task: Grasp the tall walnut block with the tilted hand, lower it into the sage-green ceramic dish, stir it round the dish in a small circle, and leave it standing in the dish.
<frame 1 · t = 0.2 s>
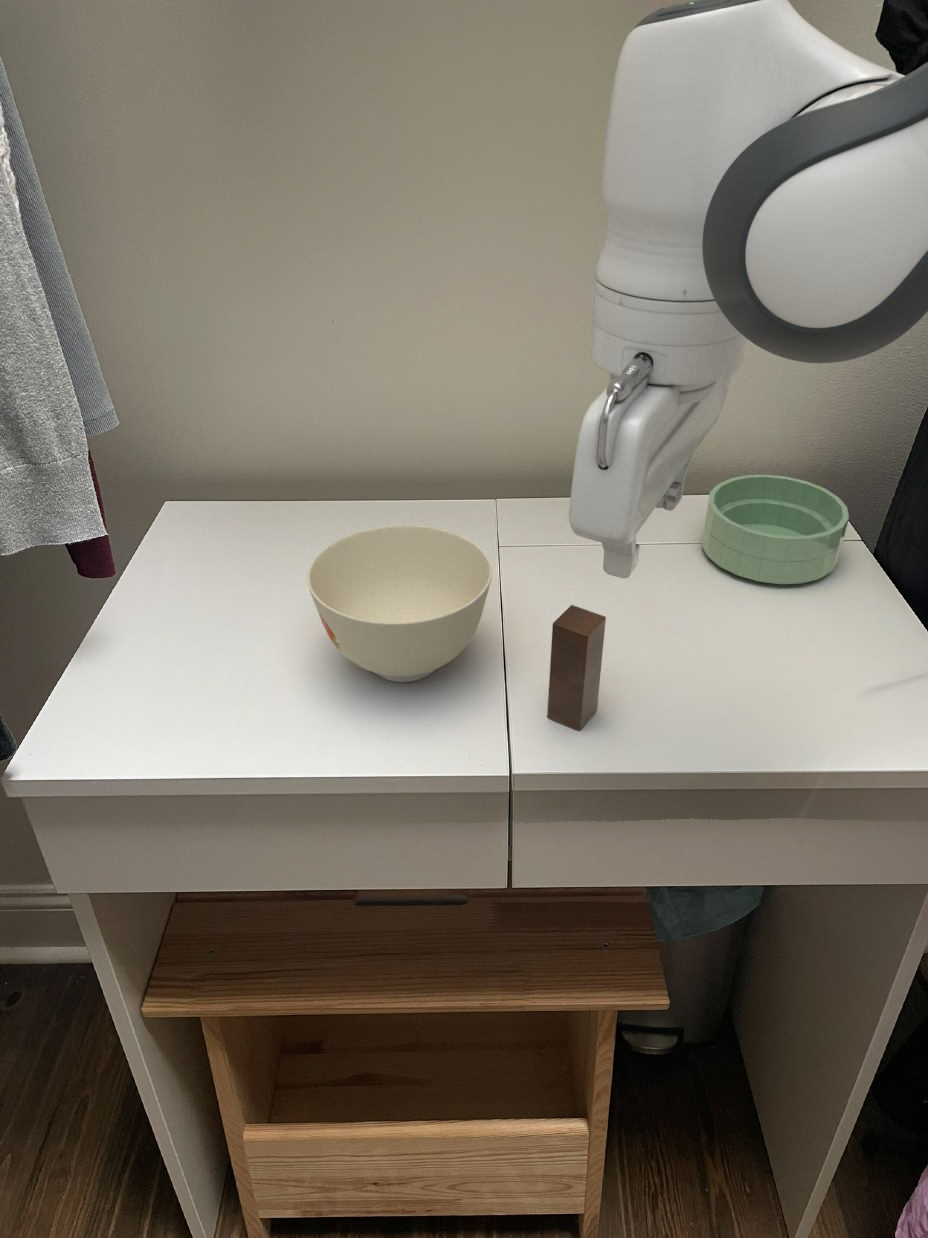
hand: (643, 536, 62), 22 cm above the table, tool pointing down, fingers open, 8 cm apart
dish: (767, 553, 103), on the table
bowl: (404, 663, 88), on the table
block: (572, 714, 82), on the table
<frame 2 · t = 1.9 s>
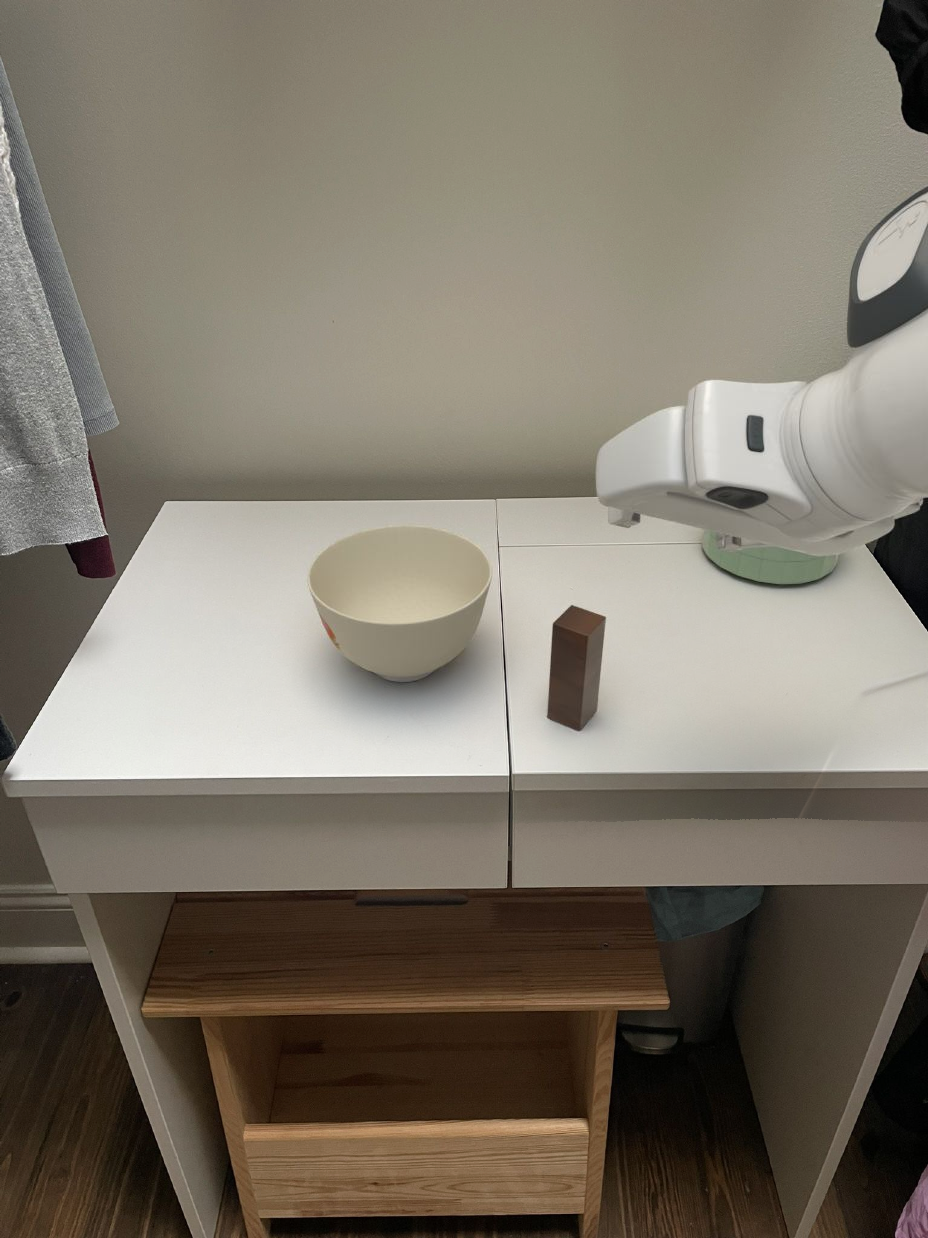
hand: (671, 528, 68), 20 cm above the table, tool tilted 50°, fingers open, 8 cm apart
nothing on the table moved.
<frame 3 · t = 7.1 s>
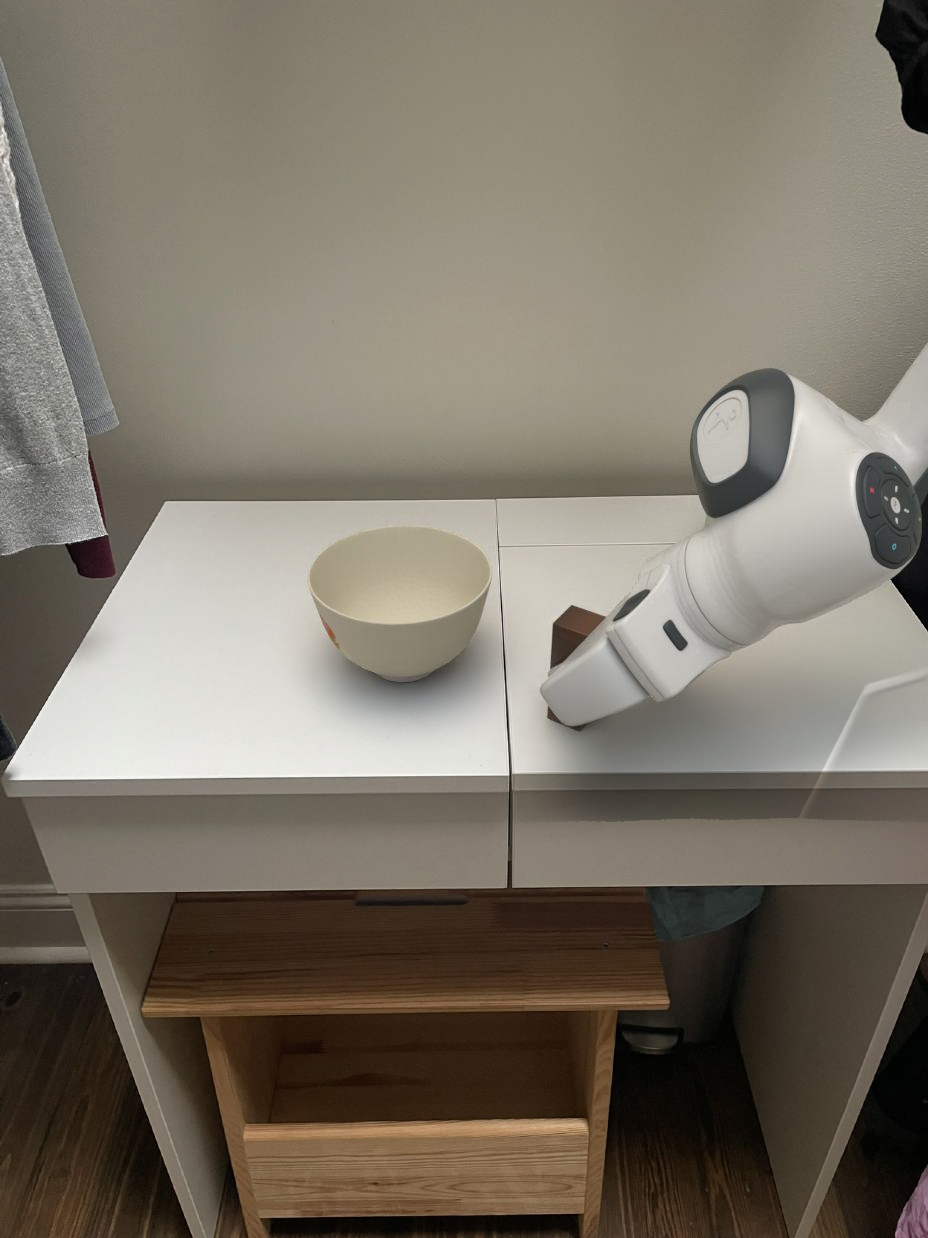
hand: (569, 663, 79), 5 cm above the table, tool tilted 45°, fingers closed on block, 3 cm apart
block: (572, 714, 82), on the table, touching gripper
everything else where it was.
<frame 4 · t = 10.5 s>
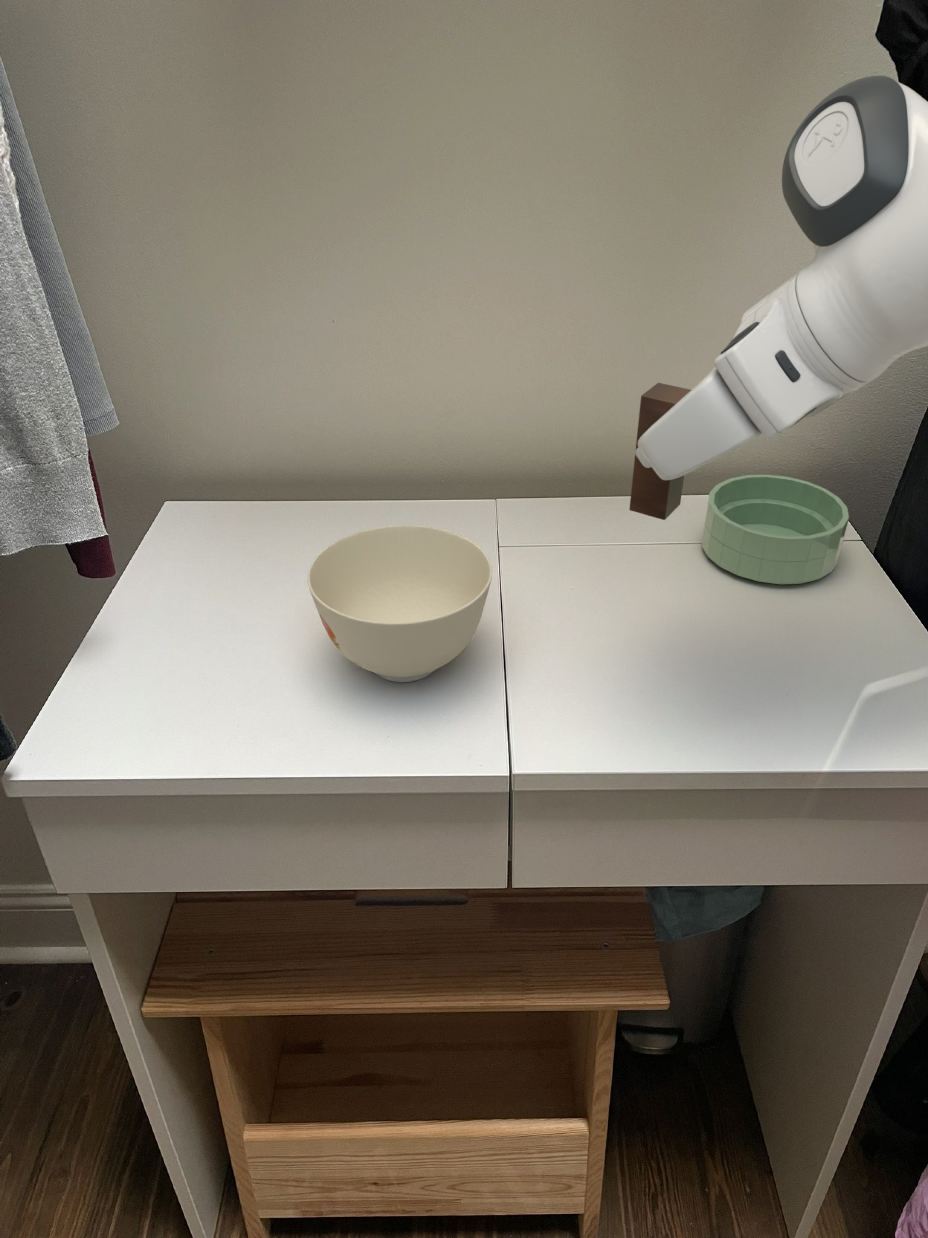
hand: (655, 446, 76), 21 cm above the table, tool tilted 45°, fingers closed on block, 3 cm apart
block: (654, 507, 78), point 16 cm above the table, touching gripper
everything else where it was.
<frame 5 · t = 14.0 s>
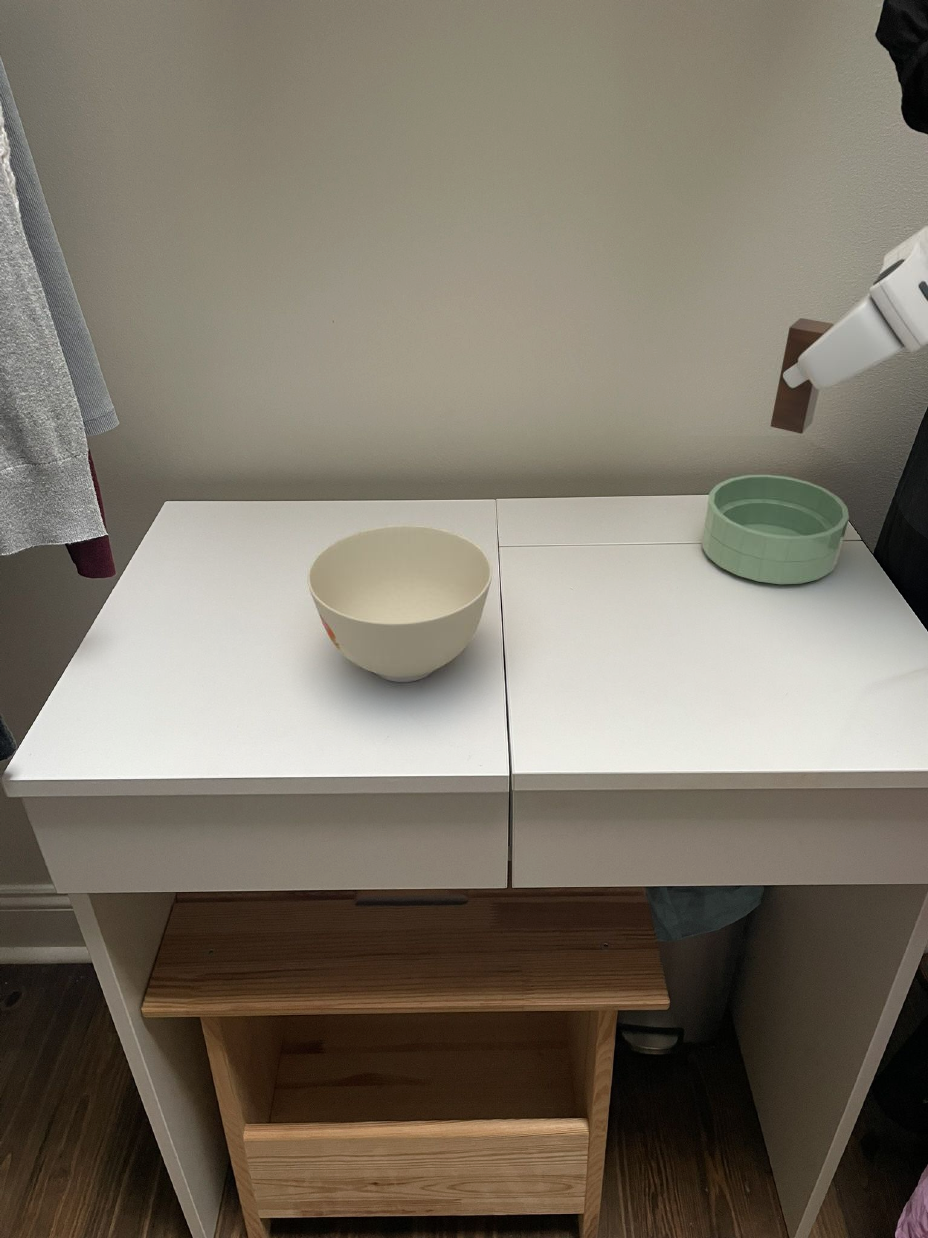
hand: (796, 372, 91), 20 cm above the table, tool tilted 45°, fingers closed on block, 3 cm apart
block: (791, 424, 94), point 15 cm above the table, touching gripper
everything else where it was.
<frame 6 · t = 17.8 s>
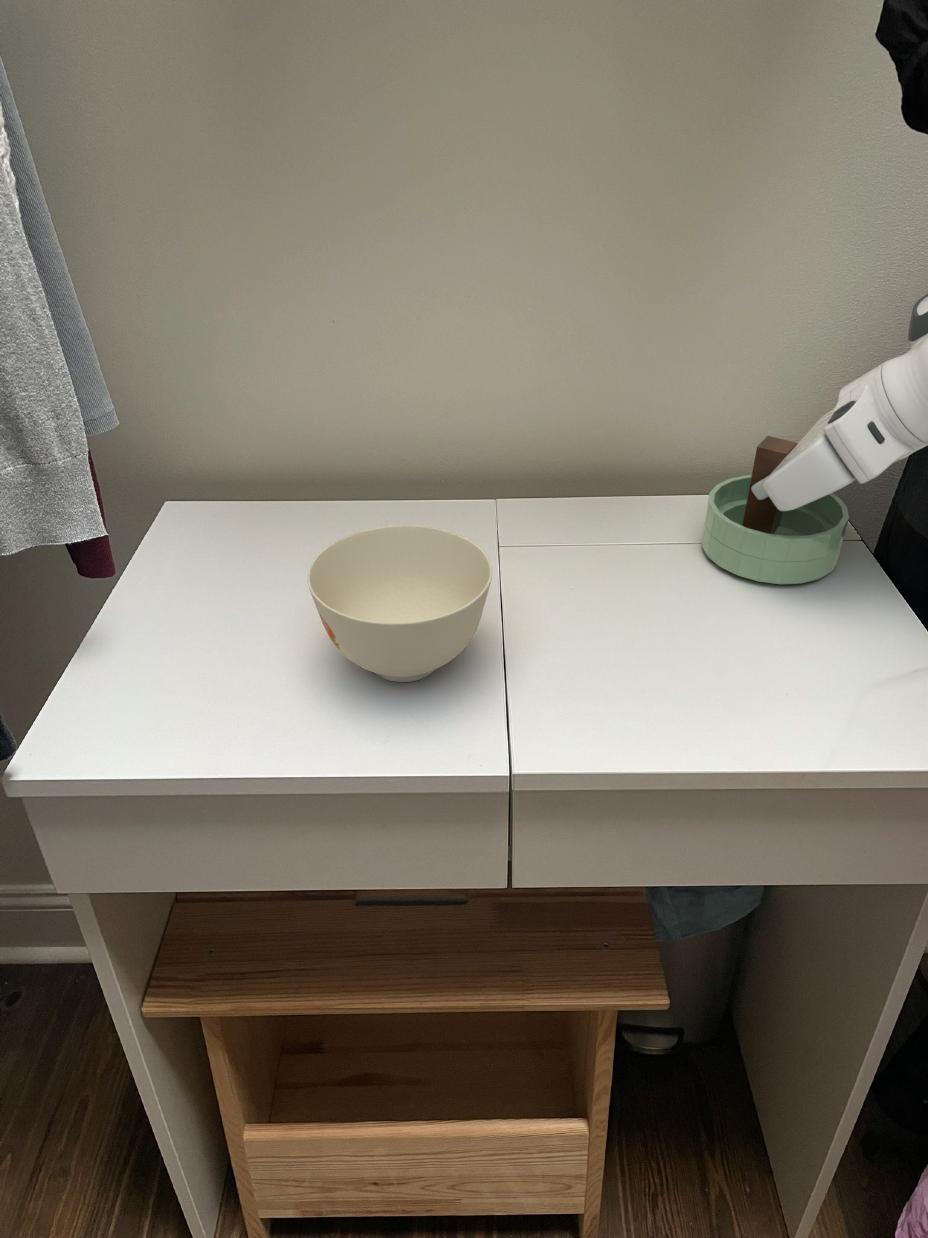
hand: (763, 483, 101), 7 cm above the table, tool tilted 45°, fingers closed on block, 3 cm apart
block: (760, 528, 104), point 2 cm above the table, touching gripper
everything else where it was.
when the fingers open (6 cm above the table, at t = 21.0 s): block stays where it is, resting on dish.
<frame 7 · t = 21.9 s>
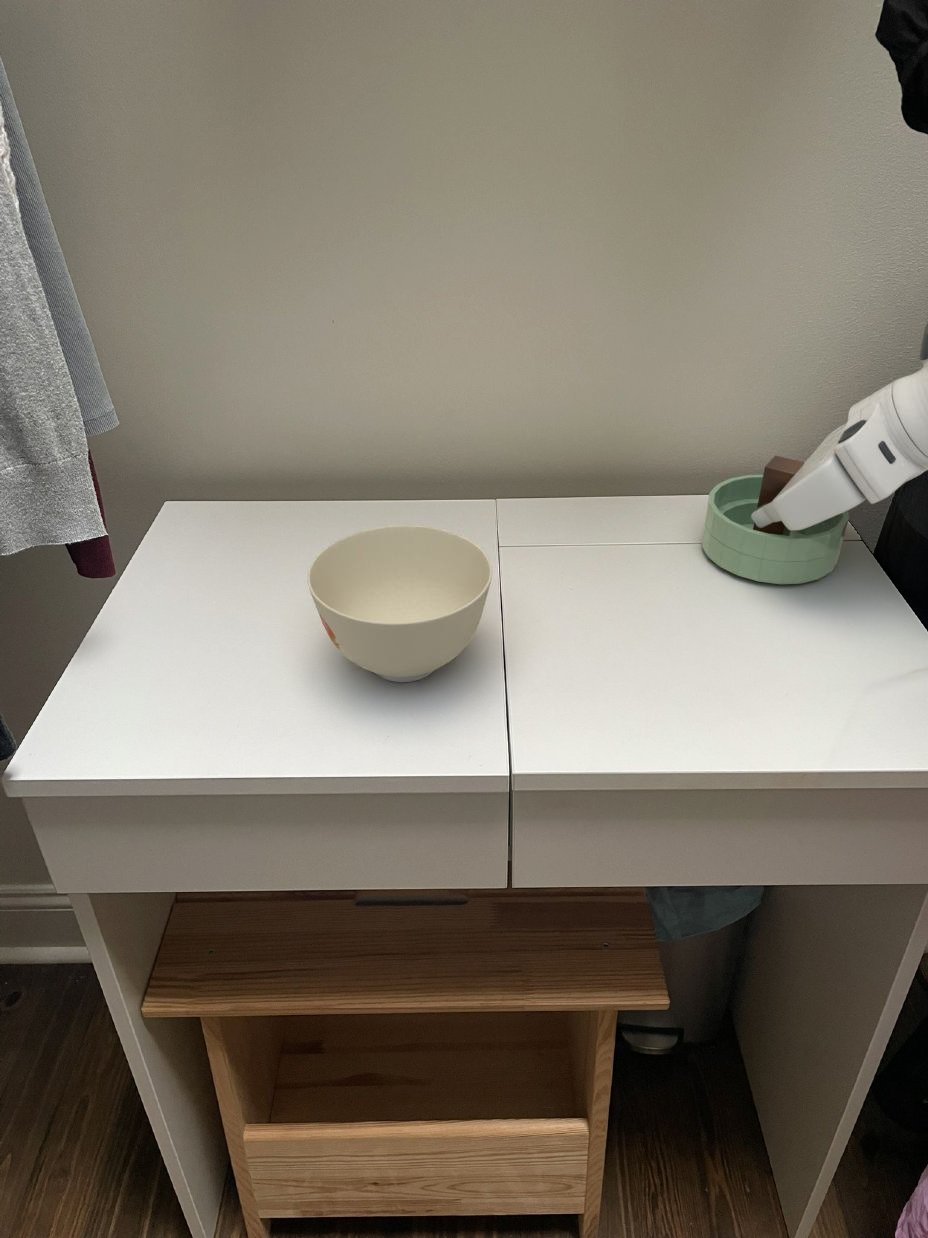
hand: (771, 501, 100), 6 cm above the table, tool tilted 45°, fingers open, 8 cm apart
block: (768, 547, 103), point 1 cm above the table, touching dish
everything else where it was.
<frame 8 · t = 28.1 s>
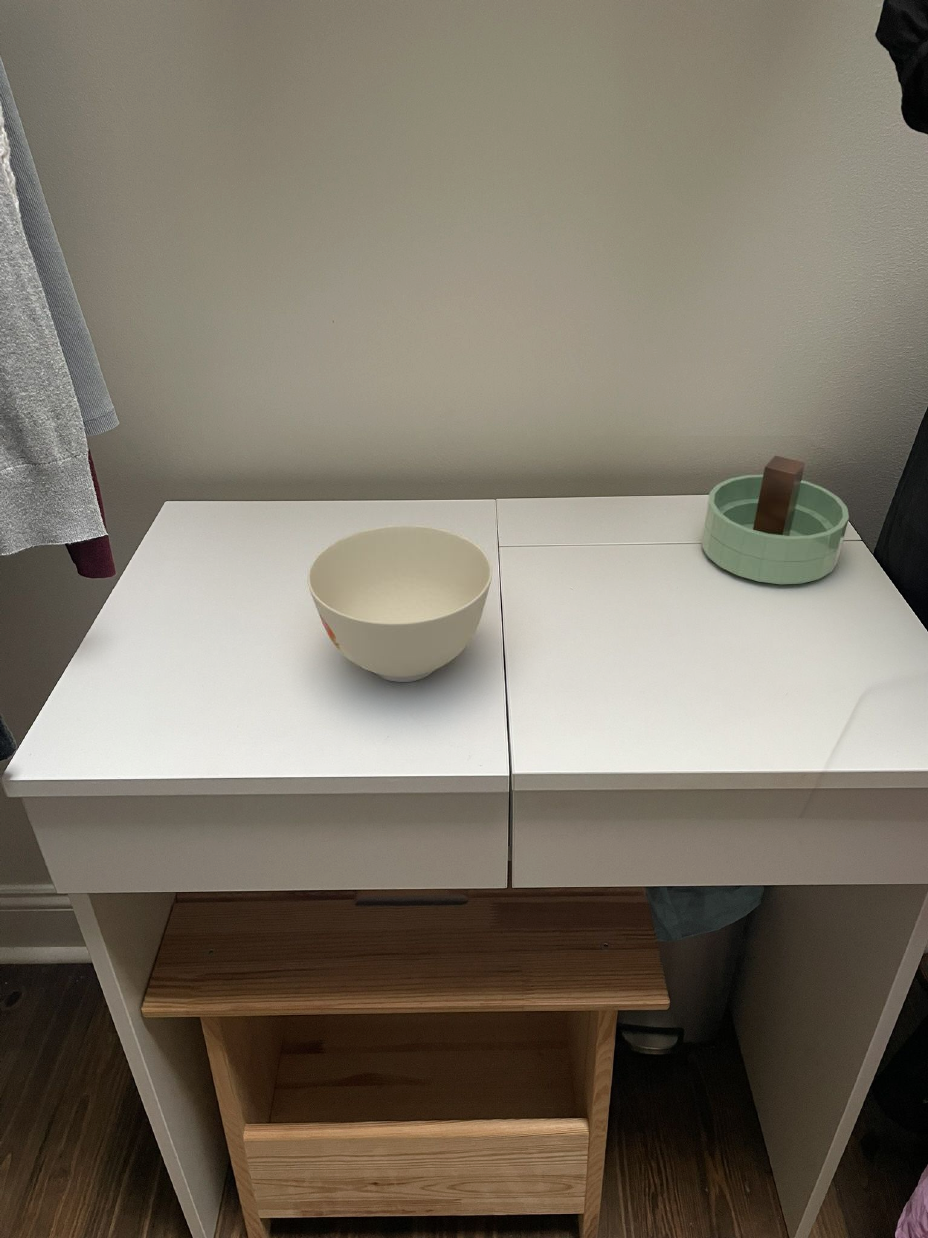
nothing on the table moved.
at the end: block 0.1 cm from the dish (horizontally); block point 0.6 cm above the table; the gripper is holding nothing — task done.
